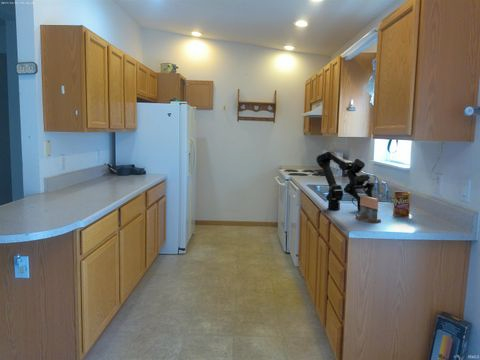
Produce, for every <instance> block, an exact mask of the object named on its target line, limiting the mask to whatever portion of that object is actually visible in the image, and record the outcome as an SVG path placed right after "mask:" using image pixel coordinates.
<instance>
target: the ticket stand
mask: <svg viewBox="0 0 480 360" xmlns="http://www.w3.org/2000/svg"><path fill="white" fill-rule="evenodd" d="M378 209H379V208H378ZM378 209H373V208H369V207H365V206H362V205H360V211H359V213H358V215H355V219H356V218H357V220H361V221H363V222H366V223H370V224H375V223H377V224H378V223H381V222H382V219H381V218H378Z"/></svg>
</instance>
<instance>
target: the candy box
mask: <svg viewBox="0 0 480 360" xmlns="http://www.w3.org/2000/svg"><path fill="white" fill-rule="evenodd" d="M411 197H412V191H401V190H395V191H394V197H393V209H392V210H393V211H392V216H393V217H401V218H408V219H409V217H410V209H411Z"/></svg>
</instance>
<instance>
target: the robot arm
mask: <svg viewBox="0 0 480 360" xmlns="http://www.w3.org/2000/svg"><path fill="white" fill-rule="evenodd" d="M331 161H332V162H334V163H335V164H337V165H338V167H339V168H340V170H341V171H346V172H345V173H344V178H348V180H349V182H348V183H347V184H346V185H345V187H343V188H342V185H340V184H339V185H338V183H337V181H336V179H335V176H334V173H333V171H332V168H331ZM316 163H317V165H318V166H319V167H320V168H321V169H322V171H323V174H324V176H325V179H326V182H327V184H328V186H329V187H328V193H327V195H326V196H325V198H326V200H327V201H328V203H327V205H328V206H327V208H326V210H328V211H329V210H331V211H338V210H339V211H340V209H341V202H340V201H342V199H343V196H344V193H346V194H348V195H349V196H351V197H353V198H354V199H356V200H357V199H358V200H359V199H360V198H359V196H358V195H359V194H358V192H357V190H363V191H364V194H365V195H367V196H368V197H372V198H373V192H372V191H373V188H375V184H374V182H367V181H369V180H370V179H371V178H370V175H369V174H368V173H366V174H361V175H358V174H359V173H360V172H361V171H362V170H363V169H364V168H365V167H366V164H365V162H364V161H362V160H361V159H359V158H355V159H354V161H351V160H349V159H344V158H343V157H341V156H340V155H338V154H337V153H336V152H334V150H333V151H329V150H328V151H326V152H324V153H322V154H319V155H317V156H316ZM365 182H366V183H365Z"/></svg>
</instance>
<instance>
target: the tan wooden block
mask: <svg viewBox="0 0 480 360" xmlns="http://www.w3.org/2000/svg"><path fill="white" fill-rule="evenodd" d="M360 205H362V206H365V207H369V208H373V209H379V198H376V197H373V196H372V197H368V196H360Z"/></svg>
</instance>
